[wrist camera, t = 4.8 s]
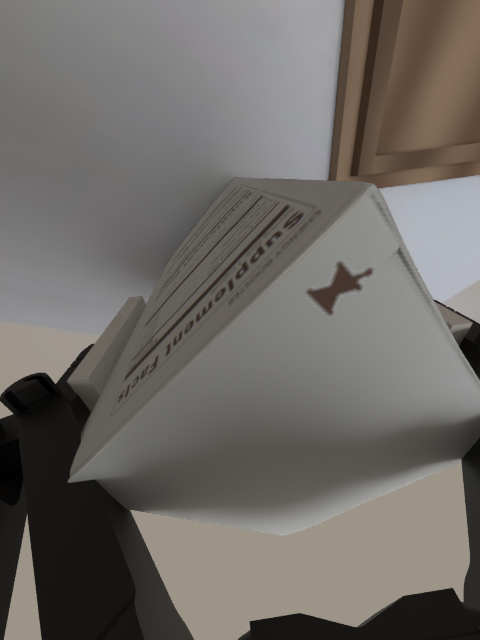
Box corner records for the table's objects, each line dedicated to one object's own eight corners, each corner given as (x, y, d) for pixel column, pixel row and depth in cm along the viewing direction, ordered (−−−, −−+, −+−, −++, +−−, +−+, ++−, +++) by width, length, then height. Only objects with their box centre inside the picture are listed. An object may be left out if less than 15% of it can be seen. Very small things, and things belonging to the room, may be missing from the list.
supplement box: (163, 264, 19) (20, 501, 5) (235, 172, 16) (372, 128, 2) (242, 323, 23) (284, 546, 9) (312, 258, 20) (535, 444, 6)
